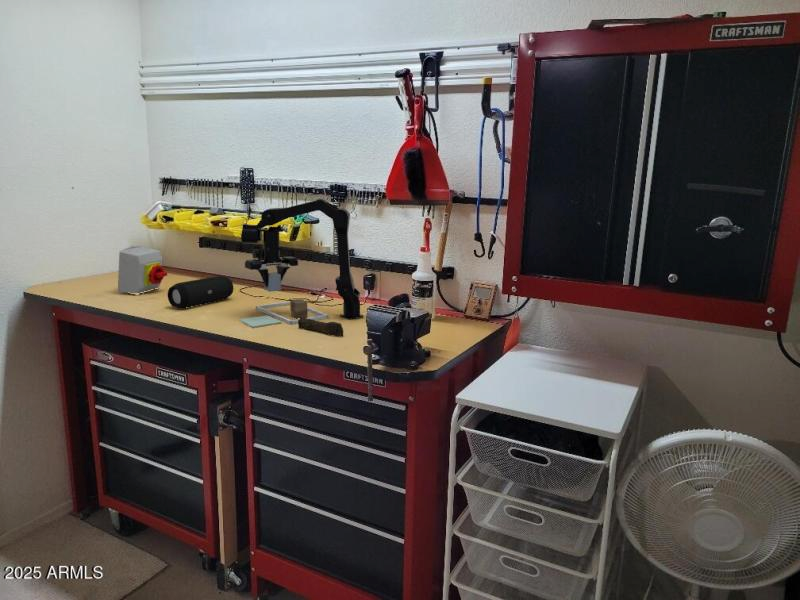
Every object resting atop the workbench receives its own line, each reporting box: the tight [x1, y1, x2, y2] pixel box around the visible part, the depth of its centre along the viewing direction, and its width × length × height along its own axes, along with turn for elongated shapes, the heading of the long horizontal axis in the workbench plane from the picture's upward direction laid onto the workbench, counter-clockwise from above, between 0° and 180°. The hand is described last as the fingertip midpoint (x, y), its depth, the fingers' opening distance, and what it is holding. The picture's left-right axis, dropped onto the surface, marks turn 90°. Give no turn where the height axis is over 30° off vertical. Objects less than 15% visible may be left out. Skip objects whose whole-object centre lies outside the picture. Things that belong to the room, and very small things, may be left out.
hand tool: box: [297, 317, 344, 337], centre depth 198 cm, size 19×4×5 cm, turn 52°
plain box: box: [289, 298, 308, 320], centre depth 217 cm, size 4×4×6 cm
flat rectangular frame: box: [255, 300, 329, 325], centre depth 222 cm, size 28×16×1 cm, turn 39°
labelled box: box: [263, 272, 282, 293], centre depth 216 cm, size 4×4×6 cm
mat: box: [238, 314, 283, 328], centre depth 209 cm, size 11×11×1 cm
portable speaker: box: [167, 275, 234, 309], centre depth 234 cm, size 26×10×10 cm, turn 147°
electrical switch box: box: [117, 245, 168, 293], centre depth 251 cm, size 15×15×20 cm
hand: (272, 286), depth 216 cm, fingers closed on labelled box, 4 cm apart
